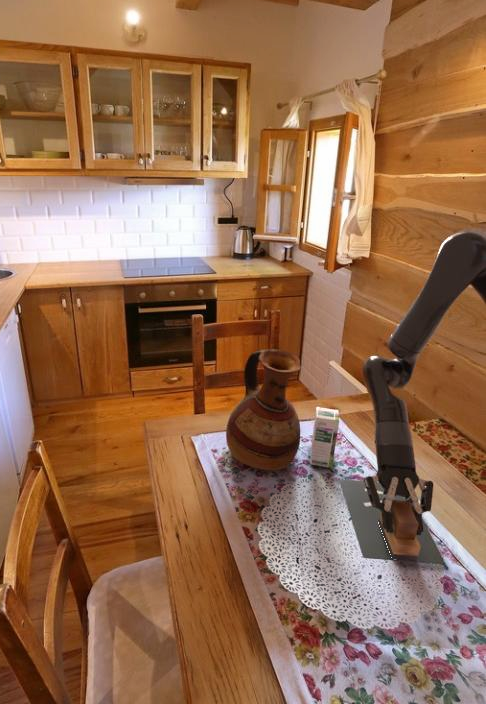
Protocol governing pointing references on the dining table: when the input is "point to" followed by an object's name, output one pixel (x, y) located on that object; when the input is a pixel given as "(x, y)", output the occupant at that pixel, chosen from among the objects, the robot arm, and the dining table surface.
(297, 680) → the dining table surface
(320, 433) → the syrup box
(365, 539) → the slate board
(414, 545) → the eraser
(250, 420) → the ceramic pitcher
